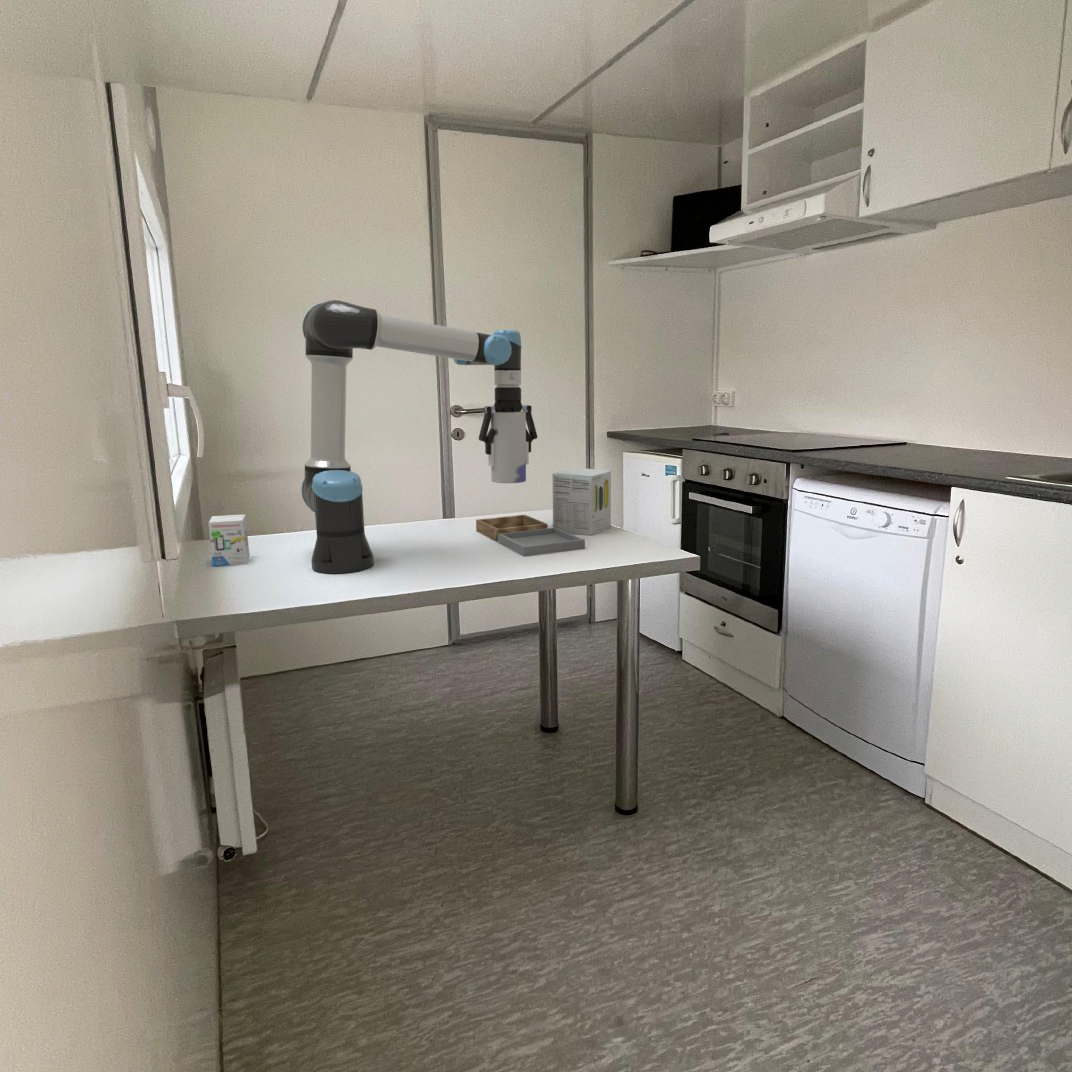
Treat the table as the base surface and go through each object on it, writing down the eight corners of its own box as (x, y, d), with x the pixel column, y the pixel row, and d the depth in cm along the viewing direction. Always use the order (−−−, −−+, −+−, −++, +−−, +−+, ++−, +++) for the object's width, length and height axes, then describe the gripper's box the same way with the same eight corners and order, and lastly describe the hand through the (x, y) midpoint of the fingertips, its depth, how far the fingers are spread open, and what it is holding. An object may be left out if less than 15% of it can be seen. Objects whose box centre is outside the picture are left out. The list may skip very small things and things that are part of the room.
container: (487, 479, 229) (486, 411, 224) (520, 478, 232) (520, 410, 227) (496, 484, 219) (495, 412, 215) (530, 483, 222) (530, 412, 218)
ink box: (211, 566, 197) (206, 521, 194) (216, 558, 205) (211, 515, 202) (247, 564, 199) (243, 519, 197) (250, 556, 207) (246, 513, 205)
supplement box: (591, 536, 224) (591, 475, 220) (552, 531, 231) (551, 473, 227) (611, 527, 235) (612, 470, 232) (573, 523, 242) (573, 467, 238)
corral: (496, 541, 219) (496, 529, 218) (476, 531, 233) (475, 519, 232) (547, 535, 225) (547, 523, 225) (525, 525, 239) (524, 514, 239)
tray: (523, 556, 202) (523, 547, 201) (497, 542, 218) (497, 533, 217) (585, 548, 209) (584, 539, 209) (555, 535, 225) (555, 527, 225)
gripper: (475, 387, 212) (476, 468, 216) (549, 386, 221) (549, 464, 226) (465, 386, 218) (467, 465, 223) (538, 385, 228) (538, 461, 232)
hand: (508, 464), depth 224 cm, fingers closed on container, 10 cm apart
